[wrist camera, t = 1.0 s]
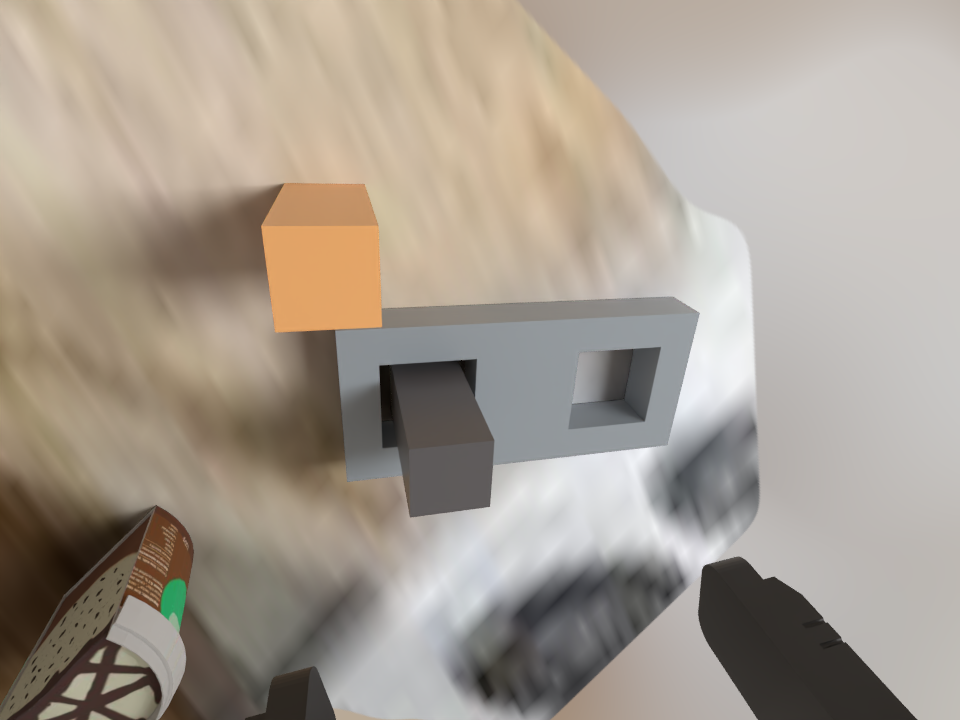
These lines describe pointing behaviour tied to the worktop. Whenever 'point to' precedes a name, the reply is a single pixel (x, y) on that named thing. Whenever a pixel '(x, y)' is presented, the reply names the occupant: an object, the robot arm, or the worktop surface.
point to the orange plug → (323, 258)
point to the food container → (113, 634)
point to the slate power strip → (502, 390)
